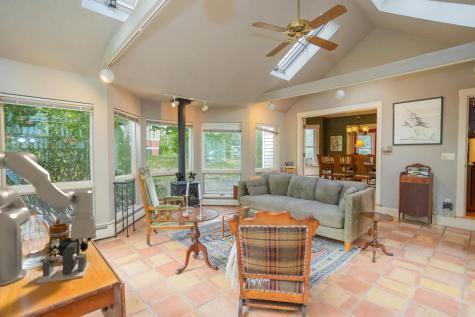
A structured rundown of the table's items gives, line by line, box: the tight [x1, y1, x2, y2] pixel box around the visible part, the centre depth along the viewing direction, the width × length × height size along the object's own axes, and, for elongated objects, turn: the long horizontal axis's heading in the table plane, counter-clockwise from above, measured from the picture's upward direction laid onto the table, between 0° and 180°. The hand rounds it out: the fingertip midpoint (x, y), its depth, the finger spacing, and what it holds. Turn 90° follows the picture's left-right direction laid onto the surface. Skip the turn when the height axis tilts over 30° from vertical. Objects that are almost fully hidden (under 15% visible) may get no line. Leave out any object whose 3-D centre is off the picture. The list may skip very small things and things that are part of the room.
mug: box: [48, 218, 71, 249], centre depth 147 cm, size 11×16×15 cm, turn 43°
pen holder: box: [59, 237, 80, 256], centre depth 130 cm, size 9×9×10 cm
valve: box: [46, 239, 60, 257], centre depth 135 cm, size 7×7×12 cm
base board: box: [36, 261, 91, 284], centre depth 115 cm, size 18×13×1 cm
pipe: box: [42, 252, 87, 276], centre depth 115 cm, size 16×5×8 cm, turn 110°
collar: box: [62, 242, 78, 275], centre depth 115 cm, size 3×11×11 cm, turn 20°
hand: (84, 250), depth 119 cm, fingers closed
